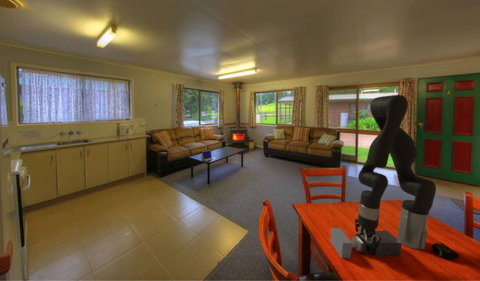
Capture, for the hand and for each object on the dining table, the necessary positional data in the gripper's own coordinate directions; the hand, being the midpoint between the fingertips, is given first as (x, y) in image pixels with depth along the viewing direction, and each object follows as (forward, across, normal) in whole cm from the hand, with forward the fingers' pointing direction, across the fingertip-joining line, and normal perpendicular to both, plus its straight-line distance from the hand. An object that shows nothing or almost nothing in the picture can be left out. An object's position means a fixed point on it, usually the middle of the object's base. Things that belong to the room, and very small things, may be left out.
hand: (364, 247), depth 82 cm
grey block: (+1, 0, -11) cm, 11 cm away
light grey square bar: (+1, 0, +4) cm, 4 cm away
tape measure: (+1, +2, +33) cm, 33 cm away
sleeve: (+1, 0, +8) cm, 8 cm away
